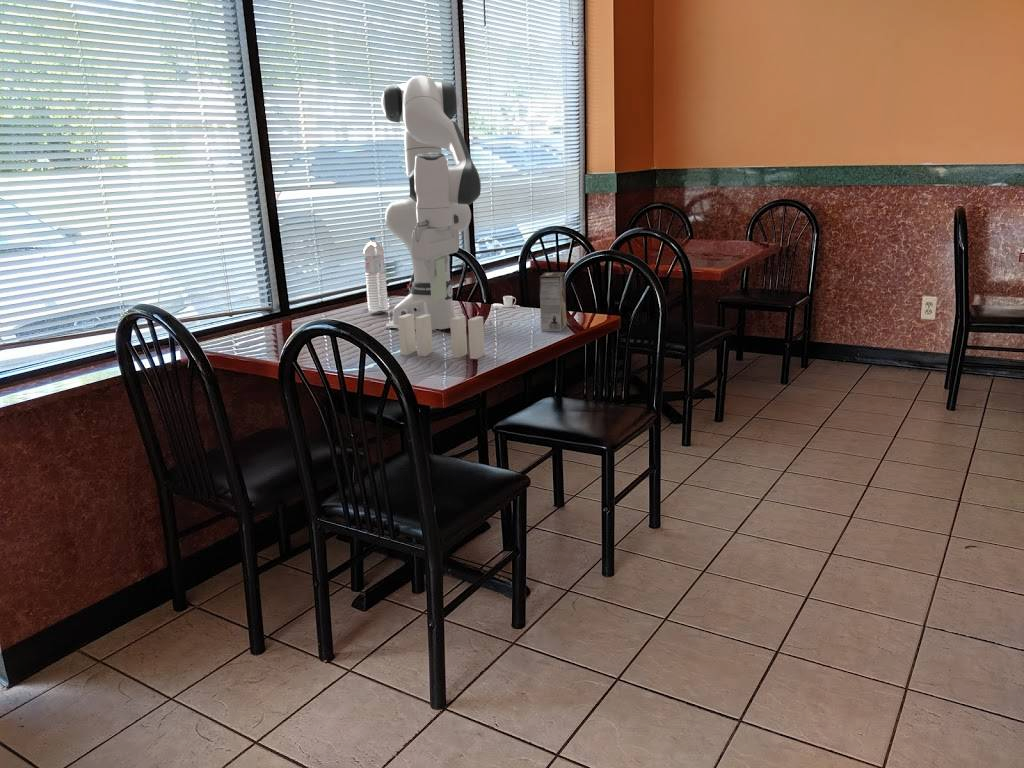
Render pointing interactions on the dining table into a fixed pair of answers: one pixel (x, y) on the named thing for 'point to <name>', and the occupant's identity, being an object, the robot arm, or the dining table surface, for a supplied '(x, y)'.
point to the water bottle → (375, 276)
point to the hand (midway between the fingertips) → (437, 274)
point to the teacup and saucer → (505, 303)
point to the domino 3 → (438, 280)
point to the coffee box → (553, 301)
